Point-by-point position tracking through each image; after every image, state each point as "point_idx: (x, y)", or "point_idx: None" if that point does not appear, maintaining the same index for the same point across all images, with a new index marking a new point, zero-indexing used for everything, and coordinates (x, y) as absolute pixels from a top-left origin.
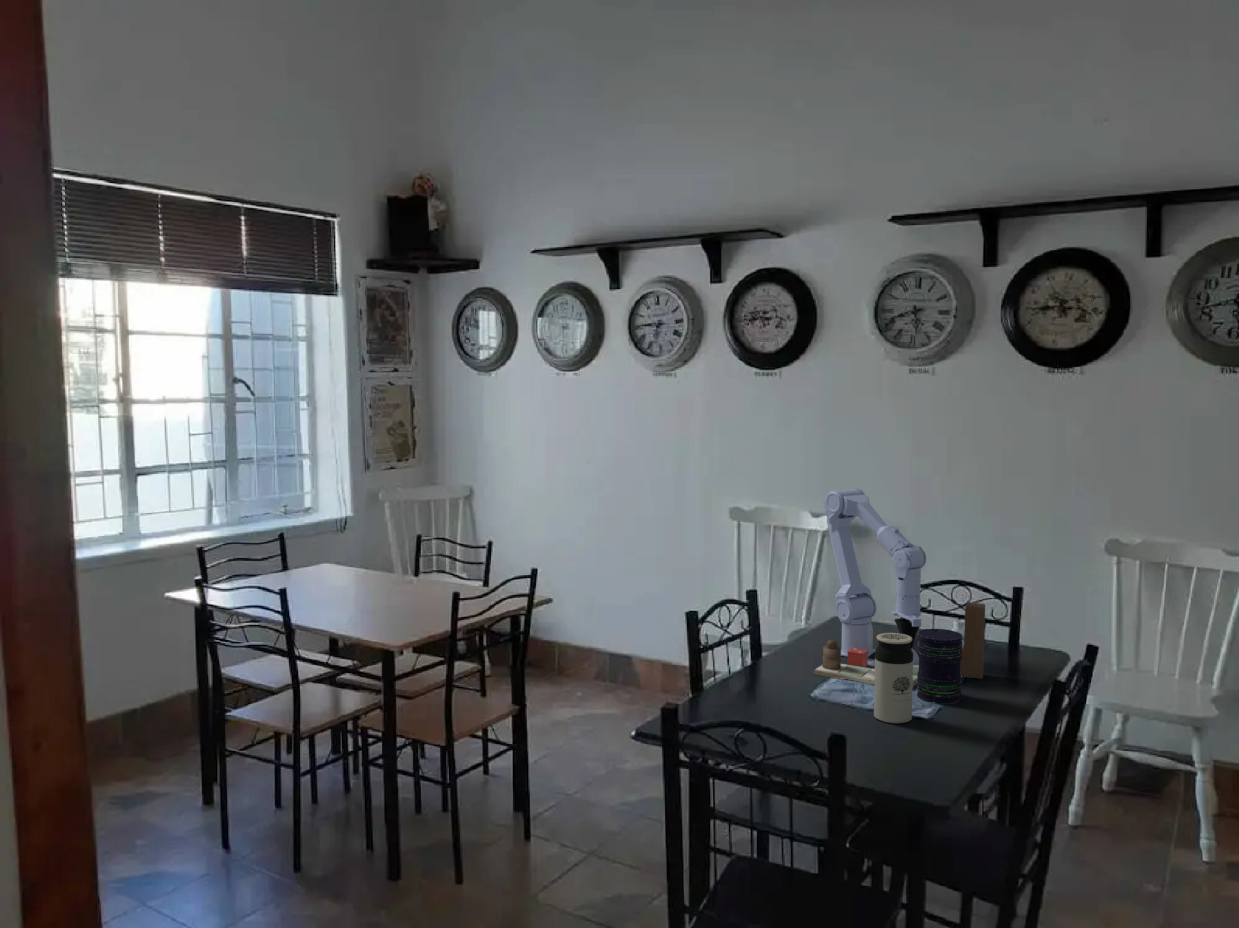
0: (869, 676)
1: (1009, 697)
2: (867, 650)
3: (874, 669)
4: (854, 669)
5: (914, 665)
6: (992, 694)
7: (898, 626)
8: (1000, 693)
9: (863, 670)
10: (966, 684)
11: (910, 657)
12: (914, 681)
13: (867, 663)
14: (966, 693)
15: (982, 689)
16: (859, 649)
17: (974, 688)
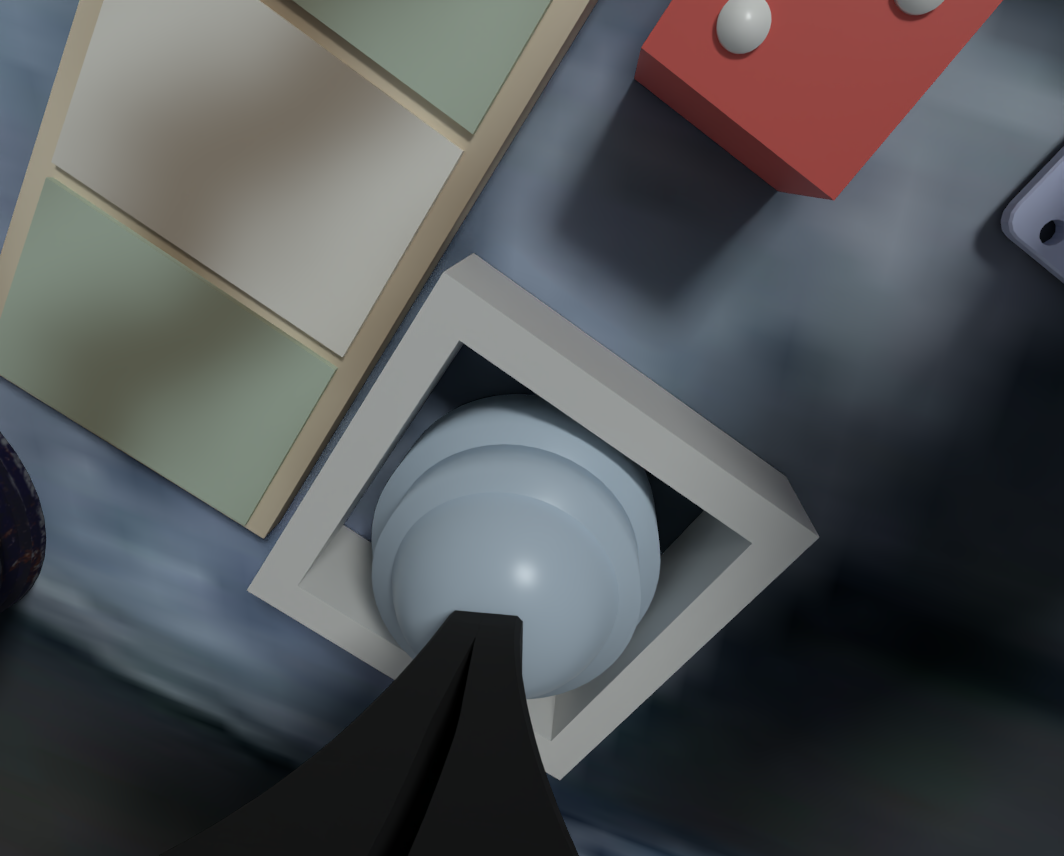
0: (162, 14)
1: (21, 841)
2: (812, 184)
3: (430, 165)
4: None
5: (309, 559)
6: (52, 794)
7: (438, 849)
8: (80, 834)
9: (393, 5)
10: (221, 753)
11: None
12: (112, 438)
13: (774, 185)
14: (35, 682)
15: (135, 788)
16: (898, 60)
17: (146, 760)
